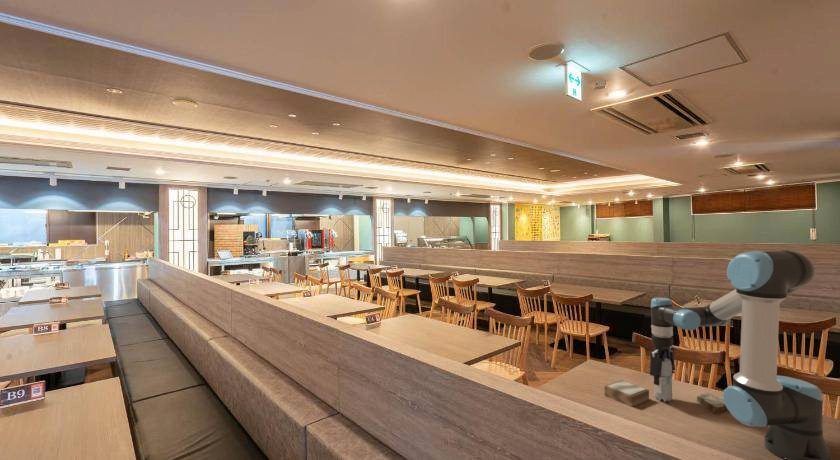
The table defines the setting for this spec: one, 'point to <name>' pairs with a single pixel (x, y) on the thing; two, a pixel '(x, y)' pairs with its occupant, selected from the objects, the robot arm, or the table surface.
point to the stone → (712, 403)
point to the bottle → (665, 381)
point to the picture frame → (627, 393)
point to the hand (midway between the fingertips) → (663, 389)
